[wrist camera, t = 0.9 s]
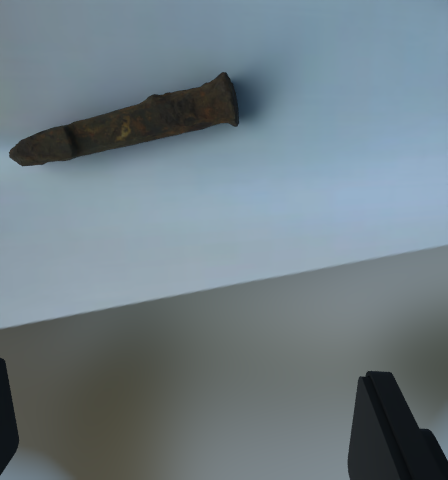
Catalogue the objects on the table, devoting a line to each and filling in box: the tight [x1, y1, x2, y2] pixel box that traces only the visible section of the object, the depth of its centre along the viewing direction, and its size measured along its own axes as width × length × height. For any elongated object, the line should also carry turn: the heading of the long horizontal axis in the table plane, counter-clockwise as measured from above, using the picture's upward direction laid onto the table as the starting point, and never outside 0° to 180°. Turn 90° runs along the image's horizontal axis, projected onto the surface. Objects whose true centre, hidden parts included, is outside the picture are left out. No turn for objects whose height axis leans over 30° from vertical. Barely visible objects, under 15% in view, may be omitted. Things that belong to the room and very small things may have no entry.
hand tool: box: [9, 72, 239, 166], centre depth 34 cm, size 19×4×5 cm, turn 101°
